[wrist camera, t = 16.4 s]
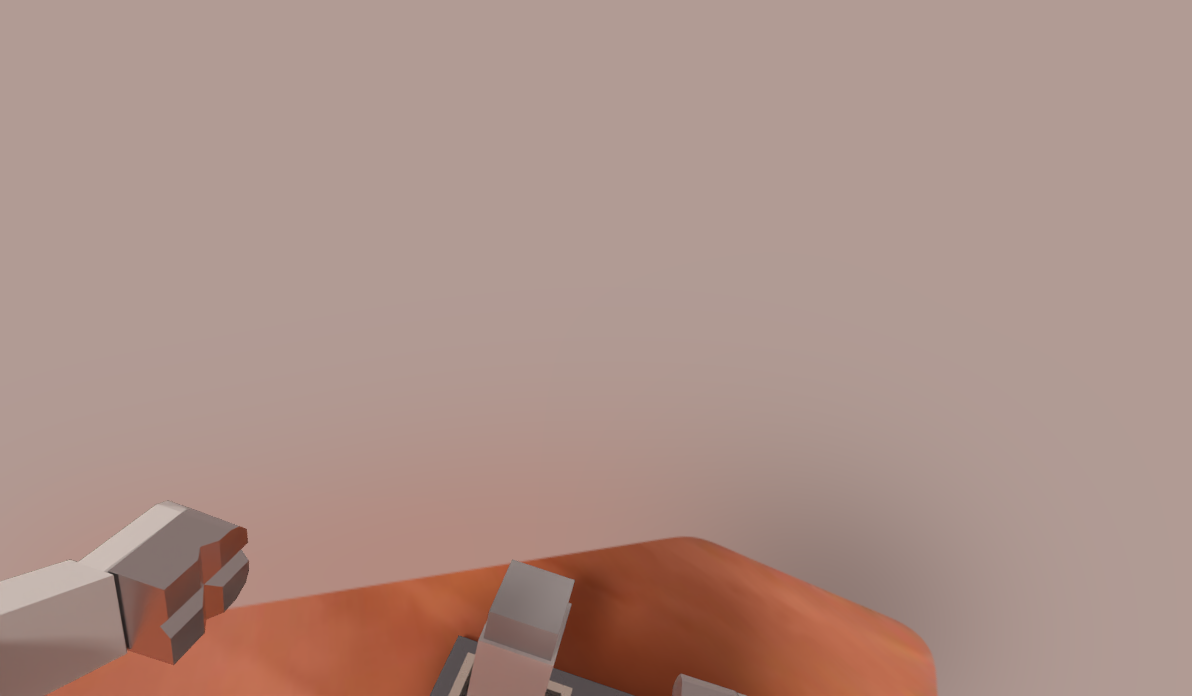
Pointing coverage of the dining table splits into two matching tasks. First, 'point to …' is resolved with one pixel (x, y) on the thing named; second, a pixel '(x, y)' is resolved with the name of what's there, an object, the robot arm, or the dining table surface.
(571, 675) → the panel
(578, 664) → the dining table surface
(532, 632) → the plug
